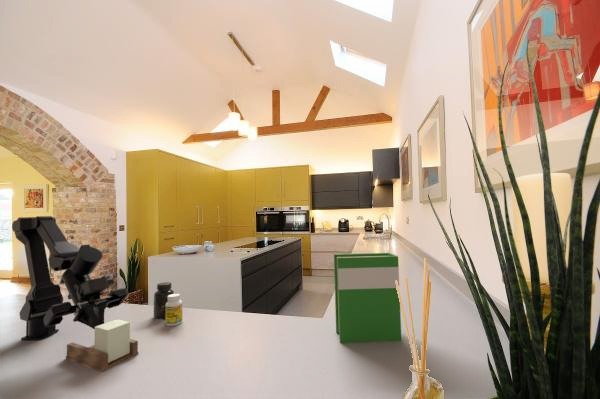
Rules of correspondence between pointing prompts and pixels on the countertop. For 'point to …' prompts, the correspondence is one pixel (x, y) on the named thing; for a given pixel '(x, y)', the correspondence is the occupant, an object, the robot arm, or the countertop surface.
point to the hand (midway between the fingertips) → (102, 330)
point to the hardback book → (367, 297)
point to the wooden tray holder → (97, 356)
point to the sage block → (113, 339)
